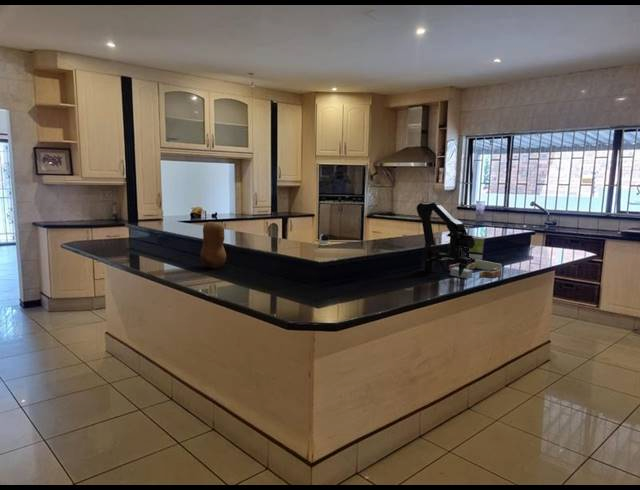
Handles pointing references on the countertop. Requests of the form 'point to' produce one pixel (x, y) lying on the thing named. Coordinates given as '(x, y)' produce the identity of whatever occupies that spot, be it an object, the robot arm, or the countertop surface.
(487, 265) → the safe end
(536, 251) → the countertop surface
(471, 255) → the tea box
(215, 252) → the butternut squash
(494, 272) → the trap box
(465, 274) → the block
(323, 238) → the container
